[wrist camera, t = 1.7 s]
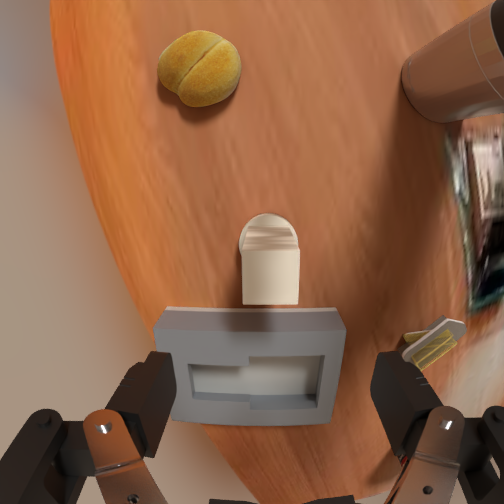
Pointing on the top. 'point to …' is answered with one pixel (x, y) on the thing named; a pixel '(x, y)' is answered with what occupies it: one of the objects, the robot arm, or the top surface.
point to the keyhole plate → (253, 364)
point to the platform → (431, 341)
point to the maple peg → (269, 261)
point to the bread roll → (200, 68)
